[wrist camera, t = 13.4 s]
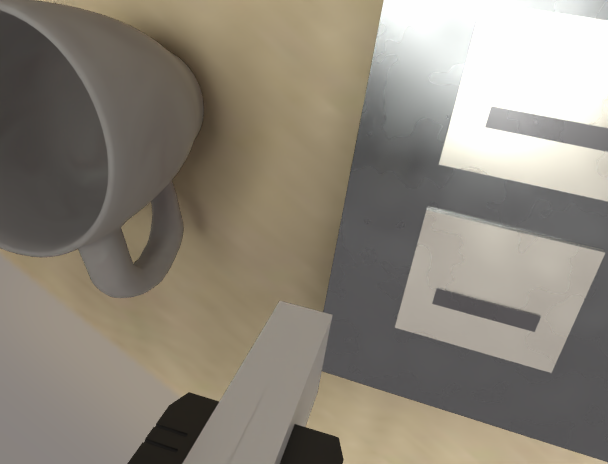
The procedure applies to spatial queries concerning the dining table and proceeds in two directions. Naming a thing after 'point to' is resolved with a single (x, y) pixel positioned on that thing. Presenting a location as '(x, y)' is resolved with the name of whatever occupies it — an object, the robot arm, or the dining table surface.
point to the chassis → (482, 218)
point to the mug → (91, 140)
